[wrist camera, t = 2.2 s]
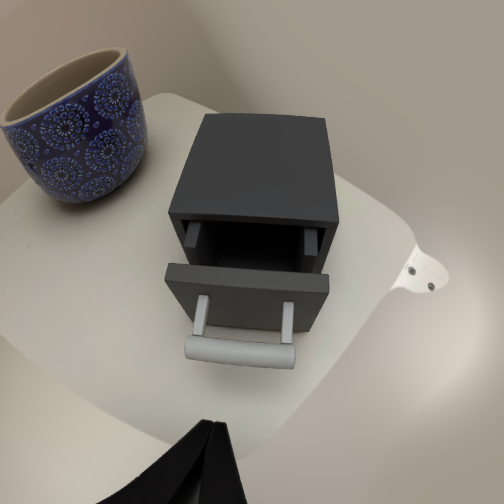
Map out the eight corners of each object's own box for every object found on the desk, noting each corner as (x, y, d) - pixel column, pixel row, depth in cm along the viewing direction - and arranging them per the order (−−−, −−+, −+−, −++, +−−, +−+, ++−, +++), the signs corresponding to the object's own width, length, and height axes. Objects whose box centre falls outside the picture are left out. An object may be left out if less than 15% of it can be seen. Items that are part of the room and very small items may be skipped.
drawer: (306, 381, 20) (329, 364, 13) (184, 369, 20) (148, 347, 14) (309, 224, 27) (321, 162, 21) (212, 218, 28) (199, 157, 21)
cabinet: (315, 288, 25) (339, 222, 17) (196, 279, 25) (167, 212, 17) (312, 190, 30) (324, 118, 22) (217, 185, 31) (205, 113, 23)
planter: (116, 124, 40) (90, 47, 27) (183, 153, 35) (158, 46, 22) (37, 190, 33) (-9, 115, 21) (82, 243, 28) (9, 142, 15)
